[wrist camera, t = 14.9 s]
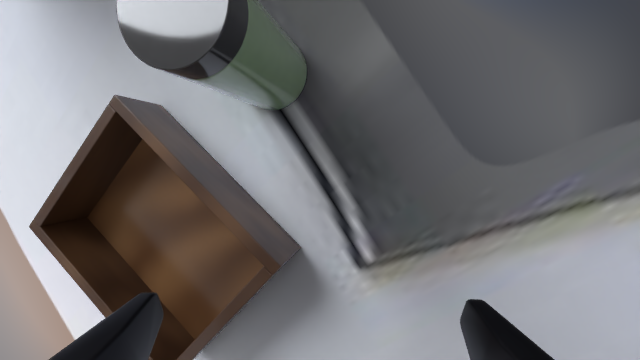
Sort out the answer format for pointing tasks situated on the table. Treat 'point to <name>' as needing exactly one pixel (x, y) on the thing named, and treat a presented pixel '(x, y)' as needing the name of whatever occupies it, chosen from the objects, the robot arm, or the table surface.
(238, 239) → the tray
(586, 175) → the table surface
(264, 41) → the spice jar
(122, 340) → the robot arm
